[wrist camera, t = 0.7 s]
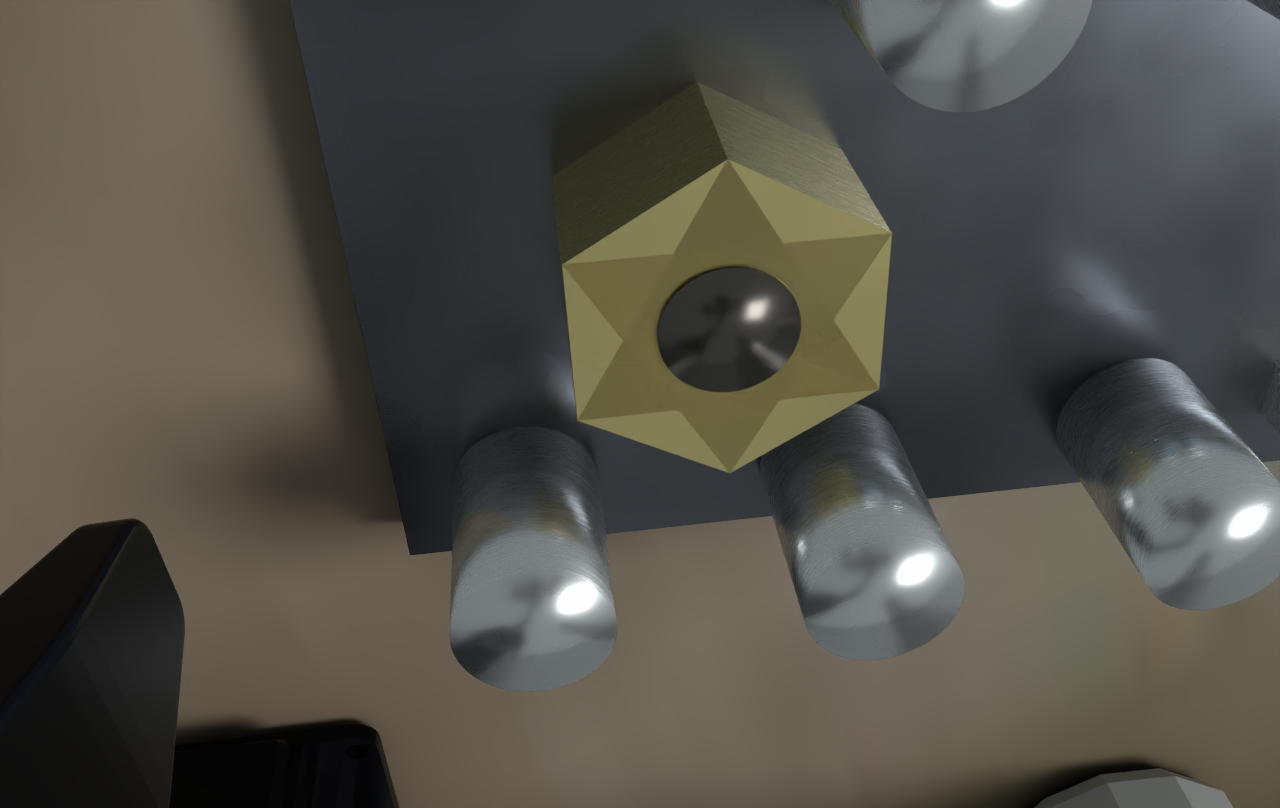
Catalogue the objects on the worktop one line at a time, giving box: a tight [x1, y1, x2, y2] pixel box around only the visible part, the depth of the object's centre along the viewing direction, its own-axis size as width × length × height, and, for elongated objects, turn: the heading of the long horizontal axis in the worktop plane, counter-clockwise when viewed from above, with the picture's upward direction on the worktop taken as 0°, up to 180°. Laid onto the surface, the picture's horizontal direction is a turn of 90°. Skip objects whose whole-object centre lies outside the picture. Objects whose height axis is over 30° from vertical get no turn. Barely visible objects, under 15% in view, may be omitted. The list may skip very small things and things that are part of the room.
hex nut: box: [552, 81, 892, 473], centre depth 19 cm, size 5×6×3 cm
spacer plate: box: [289, 0, 1280, 692], centre depth 20 cm, size 13×25×5 cm, turn 93°
